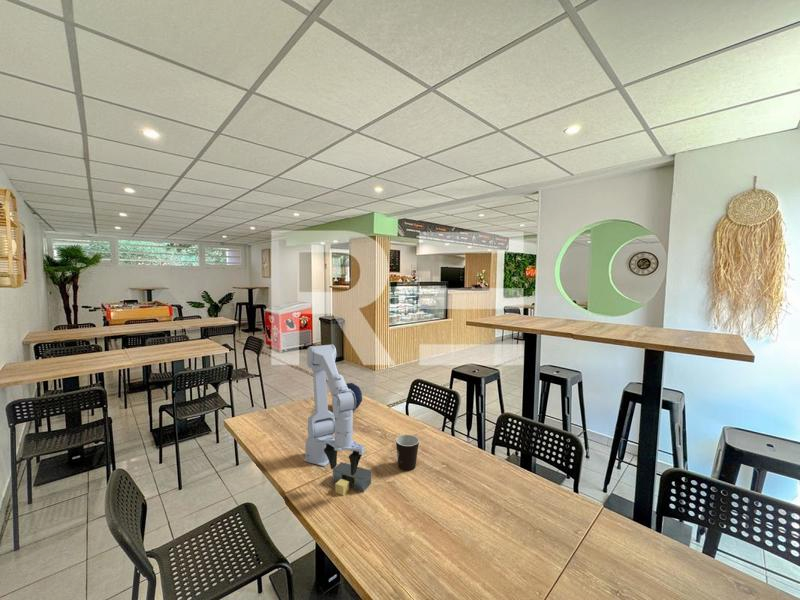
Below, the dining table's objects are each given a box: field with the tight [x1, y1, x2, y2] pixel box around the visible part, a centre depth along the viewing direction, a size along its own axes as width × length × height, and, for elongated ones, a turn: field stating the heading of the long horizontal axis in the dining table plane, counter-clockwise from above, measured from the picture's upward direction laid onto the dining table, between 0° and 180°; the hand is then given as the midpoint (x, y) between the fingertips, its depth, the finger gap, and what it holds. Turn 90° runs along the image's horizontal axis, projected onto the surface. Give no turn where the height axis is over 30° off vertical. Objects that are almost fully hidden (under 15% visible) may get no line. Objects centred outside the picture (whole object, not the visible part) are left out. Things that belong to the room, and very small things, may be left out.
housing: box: [332, 461, 372, 493], centre depth 110 cm, size 12×5×4 cm, turn 67°
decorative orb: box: [346, 382, 363, 411], centre depth 170 cm, size 14×15×15 cm
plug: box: [334, 476, 354, 496], centre depth 109 cm, size 12×3×3 cm, turn 153°
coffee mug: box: [395, 434, 420, 472], centre depth 121 cm, size 12×9×10 cm
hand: (343, 470), depth 104 cm, fingers open, 7 cm apart
